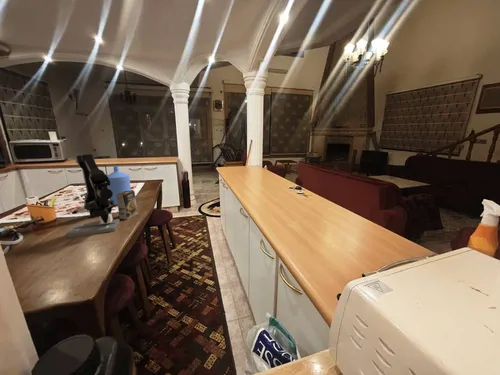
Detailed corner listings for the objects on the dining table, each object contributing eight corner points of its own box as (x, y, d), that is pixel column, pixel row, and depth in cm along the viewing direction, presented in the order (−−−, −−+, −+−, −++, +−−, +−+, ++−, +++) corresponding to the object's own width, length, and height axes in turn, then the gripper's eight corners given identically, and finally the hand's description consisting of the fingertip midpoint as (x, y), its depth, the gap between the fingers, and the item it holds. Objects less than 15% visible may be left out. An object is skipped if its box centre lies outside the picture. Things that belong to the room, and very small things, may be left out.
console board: (76, 227, 126) (75, 223, 126) (119, 221, 133) (119, 218, 133) (67, 237, 114) (66, 233, 114) (114, 230, 121) (114, 227, 121)
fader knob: (103, 222, 126) (101, 214, 125) (112, 221, 128) (111, 213, 126) (101, 225, 122) (99, 217, 121) (111, 224, 124) (109, 216, 123)
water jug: (126, 205, 160) (120, 168, 153) (105, 205, 161) (97, 168, 153) (137, 198, 175) (131, 164, 168) (117, 198, 176) (111, 164, 168)
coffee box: (128, 219, 136) (124, 194, 132) (119, 218, 138) (115, 194, 133) (138, 214, 145) (134, 190, 141) (129, 213, 146) (126, 190, 142)
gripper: (90, 192, 126) (95, 217, 131) (77, 202, 110) (84, 230, 114) (112, 190, 130) (116, 214, 134) (103, 200, 113) (108, 227, 117)
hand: (106, 221), depth 125 cm, fingers closed on fader knob, 4 cm apart
